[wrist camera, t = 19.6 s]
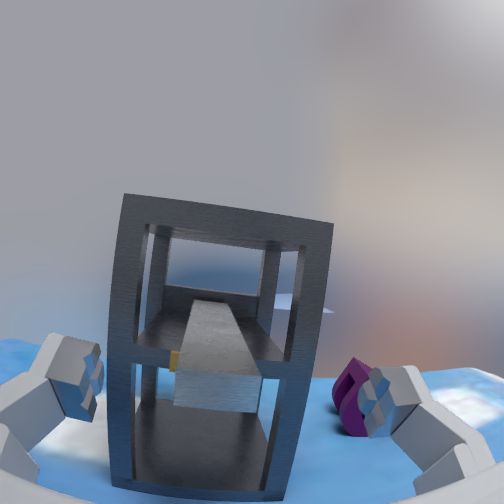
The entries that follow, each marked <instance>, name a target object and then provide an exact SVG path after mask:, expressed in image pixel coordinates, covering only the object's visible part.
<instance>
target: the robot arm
mask: <svg viewBox="0 0 504 504" xmlns="http://www.w3.org/2000/svg"><path fill="white" fill-rule="evenodd" d="M100 353H101V351H100V346H99V344H97V343H93V342H89V341H85V340H81V339H77V338H73V337H68V336H64V335H60V334H56V333H52V332H51V333H50V334H49V335H48V336H47V337H46V339H45V341H44V343H43V345H42V346H41V348H40V350H39V352H38V354H37V356H36V358H35V360H34V362H33V364H32V366H31V368H30V370H29V372H25V371H24V372H22V373H20V374H19V375H17V376H16V377H14V378H12V379H11V380H9V381H8V382H6V383H4V384H3V385H1V386H0V504H97V503H94V502H90V501H86V500H83V499H79V498H76V497H72V496H69V495H66V494H63V493H60V492H57V491H54V490H51V489H48V488H45V487H43V486H40V485H37V484H36V481H37V477H38V473H39V470H40V469H39V467H38V465H37V463H36V462H35V461H34V460H33V459H32V458H31V456H30V455H29V454H28V452H29V451H30V450H31V449H32V448H33V447H34V446H36V445H37V444H38V443H39V442H40V441H41V440H42V439H43V438H44V437H45V436H47V435H48V434H49V433H50V432H51V431H52V430H53V429H54V428H55V427H56V426H58V425H59V424H60V423H61V422H62V421H63V420H64V419H65V418H66V417H70V418H74V419H78V420H82V421H87V422H91V423H92V421H93V417H94V414H95V410H96V407H97V402H96V399H95V396H97V395H98V394H99V393H101V390H102V386H103V380H104V366H103V362H102V361H101V360H100V359H99V356H100ZM368 376H369V380H368V381H366V382H365V383H363V384H362V386H361V388H360V389H359V392H358V398H357V400H358V406H359V410H360V411H361V412H362V413H363V414H364V415H365V416H366V417H365V419H364V425H365V428H366V431H367V434H368V437H369V438H376V437H385V436H391V438H392V440H393V441H394V442H395V443H396V444H397V445H398V446H399V447H400V448H401V449H402V450H403V451H404V452H405V453H406V454H407V455H408V456H409V458H410V459H411V460H412V461H413V462H414V463H415V464H416V465H417V466H418V467H419V468H420V469H421V470H422V471H423V473H422V474H421V475H419V476H418V477H417V478H415V480H414V481H413V485H414V488H415V492H416V495H417V496H413V497H410V498H407V499H403V500H400V501H396V502H392V503H388V504H504V460H503V461H501V462H499V463H497V464H496V463H495V460H494V458H493V456H492V454H491V452H490V450H489V447H488V445H487V443H486V441H485V439H484V437H483V435H481V434H480V433H479V432H477V431H476V430H475V429H473V428H472V427H471V426H469V425H468V424H467V423H465V422H464V421H463V420H462V419H460V418H459V417H458V416H456V415H455V414H454V413H452V412H451V411H450V410H448V409H447V408H446V407H444V406H443V405H442V404H441V403H439V402H438V401H436V402H434V400H433V398H432V396H431V394H430V392H429V390H428V388H427V386H426V384H425V382H424V380H423V378H422V376H421V375H420V373H419V371H418V369H417V368H416V367H415V366H393V367H392V366H391V367H375V368H374V369H372V370H371V372H370V373H369V375H368ZM65 416H66V417H65Z"/></svg>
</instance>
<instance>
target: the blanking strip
mask: <svg viewBox="0 0 504 504" xmlns="http://www.w3.org/2000/svg"><path fill="white" fill-rule="evenodd" d="M261 378H262V376H261V374H260V372H259V370H258V368H257V365H256V363H255V361H254V359H253V357H252V355H251V353H250V351H249V349H248V346H247V344H246V342H245V340H244V338H243V336H242V334H241V331H240V329H239V327H238V325H237V323H236V321H235V318H234V316H233V314H232V312H231V310H230V307H229V305H228V304H226V303H218V302H210V301H202V300H194V302H193V306H192V309H191V313H190V317H189V320H188V324H187V328H186V331H185V335H184V339H183V343H182V347H181V350H180V354H179V358H178V362H177V366H176V374H175V388H174V403H173V405H175V406H183V407H191V408H200V409H210V410H221V411H234V412H250V413H256V410H257V404H258V397H259V391H260V385H261Z"/></svg>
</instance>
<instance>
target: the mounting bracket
mask: <svg viewBox="0 0 504 504" xmlns="http://www.w3.org/2000/svg"><path fill="white" fill-rule="evenodd" d="M371 370H372V368H370V367H369V366H367V365H365V364H364V363H362V362H360V361H359V360H357V359H356V358H354V357H353V359H352V360H351V361H350V363H349V364H348V365H347V367H346V368H345V370H344V371H343V372H342V374H341V375H340V376H339V378H338V379H337V380H336V382H335V384H334V386H333V389H332V398H333V401H334V404H335V406H336V408H337V410H338V411H339V415H340V419H341V421H342V424H343V426H344V428H345V430H346V431H347V432H348V433H349V434H350V435H352V436H354V437H368V434H367V431H366V428H365V425H364V419H365V417H366V416H365V415H364V414H363V413H362V412H361V411H360V410H359V406H358V400H357V398H358V392H359V389H360V388H361V386H362V384H363V383H365V382H366V381H368V380H369V376H368V375H369V373H370V372H371Z"/></svg>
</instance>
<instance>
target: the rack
mask: <svg viewBox="0 0 504 504" xmlns="http://www.w3.org/2000/svg"><path fill="white" fill-rule="evenodd" d="M333 227H334V224H333V223H328V222H321V221H316V220H310V219H304V218H298V217H292V216H286V215H280V214H273V213H266V212H261V211H254V210H247V209H241V208H234V207H227V206H220V205H213V204H205V203H198V202H191V201H183V200H175V199H168V198H160V197H152V196H143V195H135V194H126V193H125V194H124V197H123V203H122V209H121V214H120V221H119V227H118V234H117V241H116V249H115V257H114V265H113V274H112V284H111V295H110V308H109V324H108V342H107V424H108V443H109V456H110V468H111V478H112V486H114V487H119V488H124V489H128V490H134V491H139V492H145V493H151V494H157V495H164V496H171V497H180V498H189V499H200V500H215V501H243V502H260V501H283V498H284V494H285V491H286V487H287V483H288V479H289V476H290V472H291V468H292V464H293V460H294V456H295V451H296V447H297V443H298V439H299V434H300V430H301V425H302V421H303V416H304V412H305V407H306V402H307V397H308V392H309V387H310V382H311V377H312V371H313V366H314V360H315V355H316V349H317V343H318V337H319V331H320V325H321V319H322V312H323V305H324V299H325V292H326V285H327V277H328V270H329V261H330V253H331V244H332V236H333ZM149 233H152V234H154V235H155V237H154V245H153V252H152V260H151V267H150V276H149V285H148V295H147V304H146V315H145V327H144V328H145V329H144V331H143V332H142V333H141V334H140V336H139V337H138V326H139V314H140V302H141V292H142V283H143V274H144V265H145V257H146V249H147V242H148V235H149ZM172 238H178V239H186V240H193V241H200V242H208V243H215V244H222V245H230V246H237V247H244V248H251V249H259V250H263V254H262V262H261V270H260V277H259V284H258V292H257V295H250V294H242V293H233V292H226V291H217V290H210V289H202V288H194V287H187V286H180V285H172V284H166V281H167V272H168V264H169V257H170V249H171V241H172ZM289 251H299V252H298V260H297V268H296V276H295V282H294V290H293V297H292V304H291V311H290V319H289V325H288V331H287V338H286V344H285V351H284V354H283V353H282V352H281V351H280V349H279V348H278V347H277V346H276V344H275V343H274V342H273V341H272V339H271V338H270V337H269V336H270V330H271V322H272V316H273V309H274V302H275V294H276V287H277V280H278V272H279V264H280V257H281V252H289ZM194 300H202V301H210V302H218V303H226V304H228V305H229V307H230V310H231V312H232V314H233V316H234V318H235V321H236V323H237V325H238V327H239V329H240V331H241V334H242V336H243V338H244V340H245V342H246V344H247V346H248V349H249V351H250V353H251V355H252V357H253V359H254V361H255V363H256V365H257V368H258V370H259V372H260V374H261V376H262V378H261V385H260V391H259V397H258V404H257V410H256V413H250V412H234V411H221V410H210V409H200V408H191V407H183V406H175V405H173V403H174V401H170V400H164V399H157V387H158V370H159V367H160V368H167V369H169V372H176V366H177V362H178V358H179V354H180V350H181V347H182V343H183V339H184V335H185V331H186V328H187V324H188V320H189V317H190V313H191V309H192V306H193V302H194ZM136 364H142V377H141V402H140V405H139V407H138V410H137V412H136V414H135V381H136ZM263 378H265V379H280V381H279V387H278V393H277V398H276V404H275V410H274V415H273V421H272V426H271V431H270V437H269V442H268V443H267V440H266V437H265V434H264V432H263V429H262V426H261V423H260V420H259V418H258V415H257V414H258V408H259V402H260V396H261V390H262V383H263Z"/></svg>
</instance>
